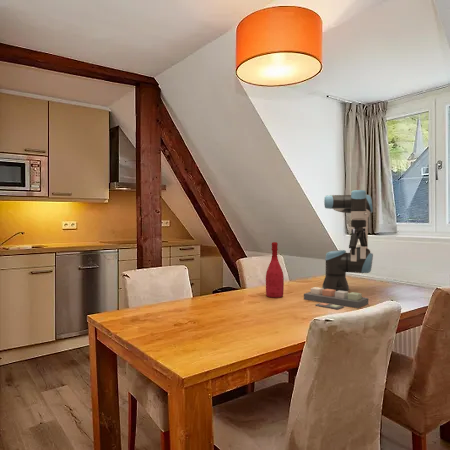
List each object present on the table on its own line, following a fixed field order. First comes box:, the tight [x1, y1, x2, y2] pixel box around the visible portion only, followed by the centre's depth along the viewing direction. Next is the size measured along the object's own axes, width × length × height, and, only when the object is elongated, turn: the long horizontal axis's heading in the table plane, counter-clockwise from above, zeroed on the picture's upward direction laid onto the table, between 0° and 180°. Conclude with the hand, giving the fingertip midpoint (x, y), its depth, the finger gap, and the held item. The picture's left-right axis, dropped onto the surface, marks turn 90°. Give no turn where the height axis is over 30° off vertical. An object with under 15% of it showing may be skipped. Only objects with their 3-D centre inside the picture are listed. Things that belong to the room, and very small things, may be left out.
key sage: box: [348, 291, 363, 301], centre depth 196 cm, size 5×5×3 cm
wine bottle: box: [265, 241, 285, 299], centre depth 216 cm, size 10×10×30 cm
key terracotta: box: [322, 289, 336, 297], centre depth 206 cm, size 5×5×3 cm
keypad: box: [303, 291, 369, 309], centre depth 203 cm, size 30×12×3 cm, turn 47°
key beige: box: [335, 290, 349, 299], centre depth 201 cm, size 5×5×3 cm
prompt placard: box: [315, 302, 345, 310], centre depth 192 cm, size 12×6×1 cm, turn 47°
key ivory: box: [310, 286, 324, 295], centre depth 210 cm, size 5×5×3 cm
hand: (358, 259), depth 207 cm, fingers open, 13 cm apart
